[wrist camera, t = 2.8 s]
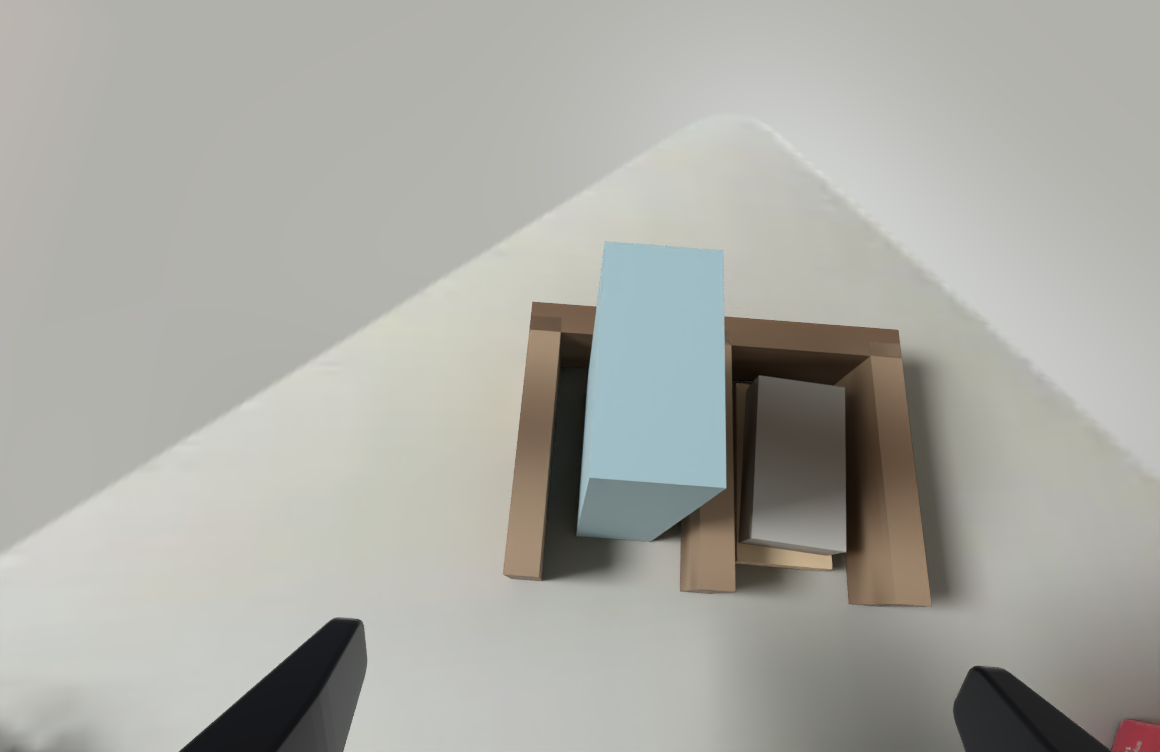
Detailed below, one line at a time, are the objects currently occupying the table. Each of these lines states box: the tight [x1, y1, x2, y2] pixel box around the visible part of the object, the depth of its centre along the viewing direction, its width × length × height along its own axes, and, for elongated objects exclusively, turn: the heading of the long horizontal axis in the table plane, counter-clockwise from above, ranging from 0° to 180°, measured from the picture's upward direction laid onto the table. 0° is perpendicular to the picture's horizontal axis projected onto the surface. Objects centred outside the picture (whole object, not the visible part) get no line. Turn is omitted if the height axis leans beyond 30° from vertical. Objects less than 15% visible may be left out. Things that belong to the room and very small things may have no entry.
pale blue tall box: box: [576, 241, 726, 542], centre depth 17 cm, size 5×2×10 cm, turn 176°
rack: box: [503, 302, 932, 606], centre depth 20 cm, size 8×12×3 cm
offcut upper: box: [738, 375, 846, 556], centre depth 20 cm, size 5×3×2 cm, turn 172°
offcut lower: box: [732, 383, 832, 571], centre depth 21 cm, size 6×3×2 cm, turn 175°
